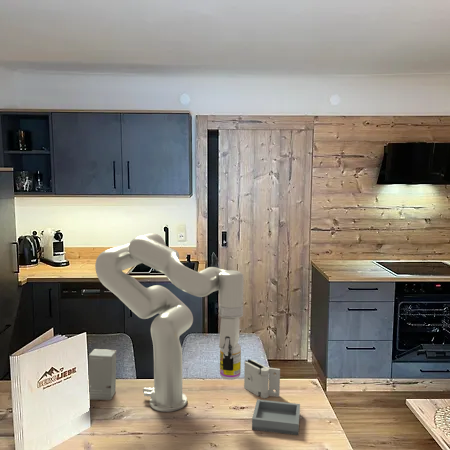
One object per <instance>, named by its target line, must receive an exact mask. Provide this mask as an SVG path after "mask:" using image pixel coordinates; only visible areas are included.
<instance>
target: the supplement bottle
mask: <svg viewBox="0 0 450 450" xmlns="http://www.w3.org/2000/svg"><path fill="white" fill-rule="evenodd" d="M237 342H238V343H237V345H236V347H235V349H233V357H232V358H233V371H229V370H223V352H224V346H223V348H221V349H220V348H219V376H220V377H221V378H223V379H225V380H236V379H238V378H240V376H241V372H242V371H241V370H242V369H241V367H242V365H241V363H242V361H241V360H242V346H241V345H240V343H239V340H237ZM229 348H232V346H229ZM229 352H230V354H231V350H229Z"/></svg>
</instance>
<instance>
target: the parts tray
mask: <svg viewBox="0 0 450 450" xmlns="http://www.w3.org/2000/svg"><path fill="white" fill-rule="evenodd" d="M300 413H301V404H300V403H295V402H283V401H276V400H266V399H259V398H258V399H256V402H255V406H254V410H253V414H252V418H251V430H252V431H260V432H268V433H276V434H285V435H292V436H293V435H294V436H299V431H300V430H299V429H300V428H299V427H300V415H301V414H300Z"/></svg>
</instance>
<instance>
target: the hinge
mask: <svg viewBox="0 0 450 450" xmlns="http://www.w3.org/2000/svg"><path fill="white" fill-rule="evenodd" d="M243 373H244V377H243V378H244V381H243V386H244V387H243V388H244V389H246V391H248V392H250V393H252V394H254V396H255V395H256V396H257V397H259V396H260V398H262V399H267V398H269V396H270V397H276V398H279V397H280V392H281V391H280V390H281V389H280V388H281V386H280V385H281V382H280V380H281V368H276V367H275V368H274V367H267V366H265V365H263V364H262V363H259V362H257V361H256V360H254V359H249V358H248V359H247V360H244V372H243ZM274 390H275V391H274Z"/></svg>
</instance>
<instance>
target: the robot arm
mask: <svg viewBox="0 0 450 450" xmlns="http://www.w3.org/2000/svg"><path fill="white" fill-rule="evenodd" d="M95 260H96V261H95V267H94V268H95V273H96V276H97V279H98V280H99V282H100V283H101V284H102V286H104V287H105V288H106V289H107V290H109V291H110V292H111V293H113V294H114V296H116V297H117V298H118V299H119V300H120V301H121V303H123V304H124V306H126V307H127V308H128V309H129V310H131V312H132V313H133V314H135V315H136V316H137V317H138V318H139V319H142V320H146V319H147V320H148V319H150V318H152V317H154V316H156V315H157V314H158V315H157V316H156V317H155V318H154V319H153V320H152V322H151V325H150V336H151V340H152V345H153V346H152V347H153V385H154V386H153V387H148V386H146V387H145V386H144V387H143V389H142V393H143V396H144V397H150V398H149V406H150V408H152V409H153V410H155V411H158V412H165V413H166V412H167V413H169V412H175V411H178V410H182V409H183V408H184V407H186V405H187V403H188V397H187V395H186V394H185V393H183V348H182V345H181V341H180V336H182V335H183V334H184V333H185V332H186V331H188V330H189V329H190V328H191V327H192V325H193V322H194V316H193V313H192V311H191V309H190V308H189V306H188V305H186V304H185V303H184V302H183V301H182V300H180V298H178V296H176V295H175V294H174V293H173V292H172V291H170V289H168V288H167V287H165V286H163V285H160V284H156V285H152V286H149V287H145V286H144V285H143V284H141V283H140V281H138V280H137V279H136V278H135V277H133V276H132V275H130V274H127V273H126V272H124V270H128V269H130V268H133V267H136V266H138V265H141V264H144V265H145V266H147V267H150V268H151V269H154V270H156V271H157V272H160V273H162V274H164V275H165V276H166V278H167V279H168V280H169V282H171V284H172V285H174V286H175V287H176V288H178V289H179V290H181V291H183V292H185V293H187V294H190V295H192V296H194V297H198V298H202V297H203V298H205V297H207V296H209V295H210V294H212V293H213V292H217V291H218V295H219V297H218V298H219V299H218V303H219V304H218V316H219V317H220V325H219V326H220V327H219V344H218V345H219V346H218V347H219V350H220V349H221V348H223V346H224V352H223V370H229V371H233V358H232V357H233V349H235V347H236V345H237V343H238V344H239V339H240V332H241V331H240V330H241V329H240V325H241V324H240V323H241V321H240V318H242V317H243V316H244V279H245V278H244V277H245V276H244V274H243V272H241V271H239V270H233V269H230V270H229V269H228V270H227V269H223V268H219V267H215V266H209V267H206V268H204V269H202V270H199V271H196V270H195V269H194V270H193V269H191V268H189V267H188V266H185V265H184V264H183V263H182V262H181V261H180V253H179V252H178V250H176V249H174V248H171V247H170V246H167V245H166V241H165V240H164V238H163V236H162V235H159V234H158V233H154V232H153V233H152V232H151V233H147V234H146V233H145V234H142V235H138V236H136V237H134V238H132V240H131V241H130V242H128V243H126V244H123V245H118V246H115V247H111V248H108V249H106V250H103V251H102V252H100V253H99V255H98V256H97V257H96V259H95ZM237 340H238V342H237ZM229 346H232V348H229ZM229 350H231V354H230V352H229Z"/></svg>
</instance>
